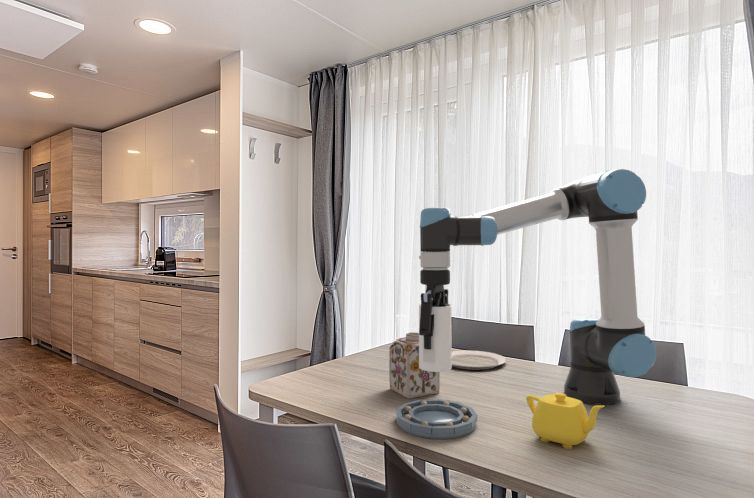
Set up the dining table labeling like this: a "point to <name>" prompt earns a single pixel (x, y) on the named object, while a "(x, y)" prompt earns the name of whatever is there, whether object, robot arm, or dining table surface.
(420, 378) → the decorative jar
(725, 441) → the dining table surface
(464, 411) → the beads
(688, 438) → the dining table surface
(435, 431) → the tray
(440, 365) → the cup
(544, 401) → the teapot
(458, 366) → the plate
